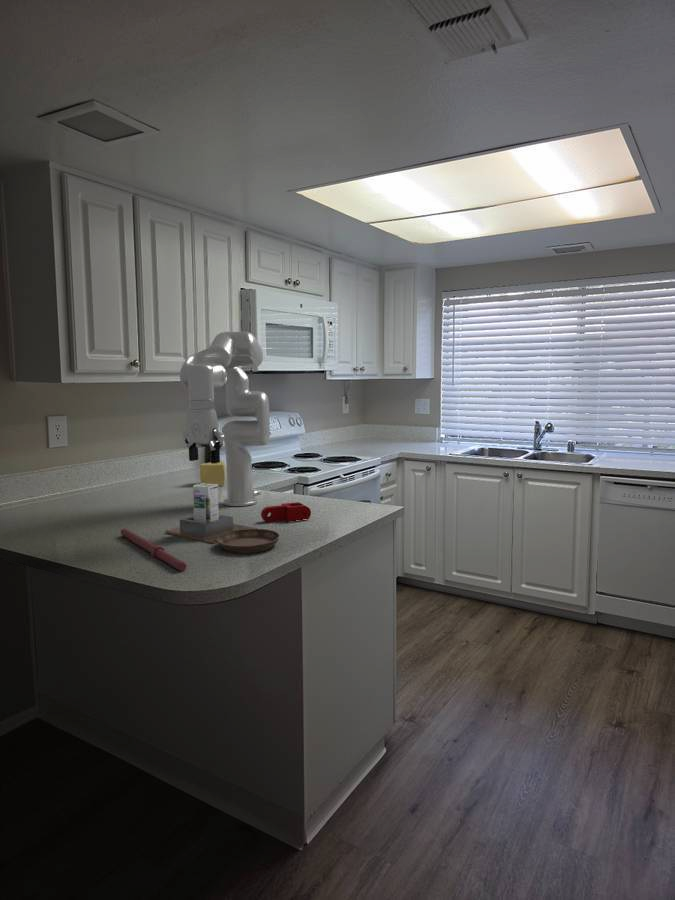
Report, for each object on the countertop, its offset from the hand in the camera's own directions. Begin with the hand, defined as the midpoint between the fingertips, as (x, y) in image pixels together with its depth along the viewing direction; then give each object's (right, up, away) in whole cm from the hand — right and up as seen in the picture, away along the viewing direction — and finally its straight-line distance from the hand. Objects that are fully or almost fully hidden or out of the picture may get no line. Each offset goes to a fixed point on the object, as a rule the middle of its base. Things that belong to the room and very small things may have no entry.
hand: (204, 461), depth 189 cm
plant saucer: (+15, -24, -13) cm, 31 cm away
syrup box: (0, -22, +2) cm, 22 cm away
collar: (+1, -22, +4) cm, 22 cm away
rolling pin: (-11, -25, -17) cm, 33 cm away
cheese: (-15, -12, +89) cm, 91 cm away
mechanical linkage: (+23, -20, +19) cm, 36 cm away
